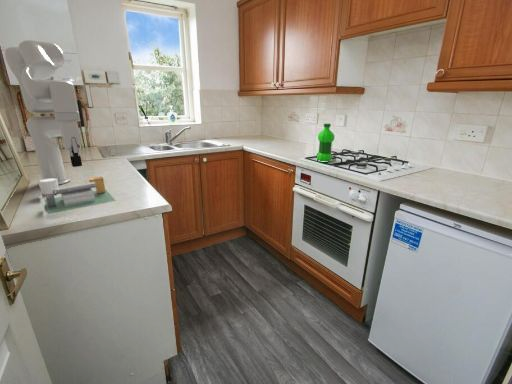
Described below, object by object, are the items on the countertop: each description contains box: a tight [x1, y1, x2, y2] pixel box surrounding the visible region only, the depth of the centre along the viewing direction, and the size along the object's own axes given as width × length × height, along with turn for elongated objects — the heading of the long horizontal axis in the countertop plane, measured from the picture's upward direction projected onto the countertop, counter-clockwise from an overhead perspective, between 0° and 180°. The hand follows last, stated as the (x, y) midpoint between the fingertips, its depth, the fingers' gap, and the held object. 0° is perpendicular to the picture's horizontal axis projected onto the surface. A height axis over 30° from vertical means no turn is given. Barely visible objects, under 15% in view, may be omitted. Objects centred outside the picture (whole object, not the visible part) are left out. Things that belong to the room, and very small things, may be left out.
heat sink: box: [44, 188, 95, 208], centre depth 108 cm, size 10×15×4 cm, turn 128°
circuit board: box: [44, 188, 116, 215], centre depth 111 cm, size 18×22×2 cm
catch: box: [88, 176, 106, 193], centre depth 118 cm, size 3×5×6 cm, turn 128°
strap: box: [52, 183, 97, 196], centre depth 109 cm, size 15×4×1 cm, turn 128°
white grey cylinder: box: [37, 178, 60, 195], centre depth 119 cm, size 7×7×7 cm
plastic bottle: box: [316, 123, 335, 162], centre depth 182 cm, size 10×10×25 cm
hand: (77, 166), depth 108 cm, fingers closed
